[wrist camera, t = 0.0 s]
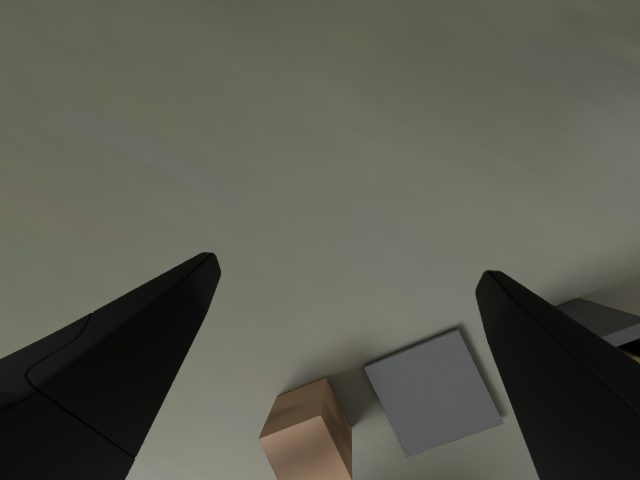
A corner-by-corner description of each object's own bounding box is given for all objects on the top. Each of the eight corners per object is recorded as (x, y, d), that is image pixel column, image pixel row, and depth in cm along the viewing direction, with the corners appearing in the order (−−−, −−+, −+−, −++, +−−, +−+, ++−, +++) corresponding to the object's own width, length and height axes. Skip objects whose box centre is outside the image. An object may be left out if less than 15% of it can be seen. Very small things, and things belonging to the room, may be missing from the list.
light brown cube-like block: (351, 428, 24) (352, 480, 19) (300, 447, 25) (288, 502, 20) (326, 376, 24) (320, 415, 19) (276, 397, 25) (258, 439, 20)
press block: (610, 362, 21) (691, 404, 16) (538, 388, 22) (594, 435, 17) (579, 298, 21) (649, 319, 16) (508, 325, 22) (554, 354, 17)
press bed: (501, 420, 22) (503, 423, 22) (405, 453, 23) (406, 456, 23) (456, 328, 22) (458, 329, 22) (363, 365, 24) (363, 367, 23)
